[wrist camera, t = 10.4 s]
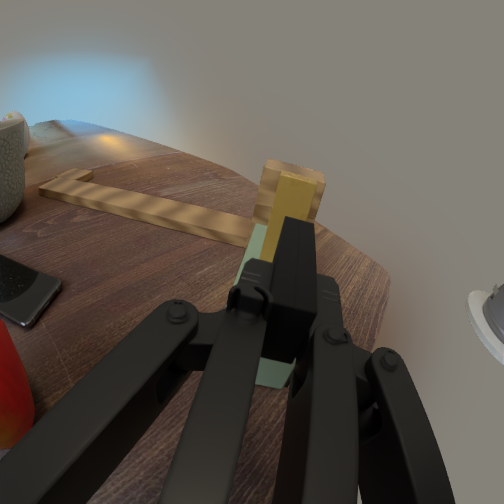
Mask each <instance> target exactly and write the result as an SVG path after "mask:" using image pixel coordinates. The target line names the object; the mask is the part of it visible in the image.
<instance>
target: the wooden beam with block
mask: <svg viewBox="0 0 504 504" xmlns="http://www.w3.org/2000/svg"><path fill="white" fill-rule="evenodd" d="M282 170H284V171H288V172H292V173H296V174H299V175H303V176H307V177H310V178H314V179H316V181H317V188H316V191H315V194H314V198H313V201H312V204H311V207H310V211H309V214H308V217H307V220H306V221H307V222H310V223H314V220H315V217H316V214H317V211H318V208H319V205H320V202H321V198H322V195H323V192H324V189H325V186H326V182H325V178H324V175H323V173H322V172H318V171H315V170H311V169H307V168H304V167H301V166H297V165H293V164H289V163H285V162H281V161H277V160H273V159H268V161H267V162H266V164H265V166H264V167H263V172H262V176H261V181H260V185H259V190H258V194H257V199H256V204H255V208H254V212H253V217H252V219H249V218H245V217H241V216H236V215H232V214H228V213H224V212H220V211H216V210H212V209H208V208H203V207H199V206H195V205H190V204H186V203H182V202H177V201H173V200H169V199H164V198H160V197H155V196H150V195H146V194H141V193H136V192H132V191H127V190H122V189H117V188H112V187H108V186H103V185H98V184H92V183H87V182H86V181H88V180H90V179H92V178H93V171H90V170H83V169H77V168H73V169H71V170H69V171H66V172H64V173H62V174H60V175H58V176H56V179H54V180H52V181H50V182H48V183H46V184H44V185H42V186H40V187H38V189H39V195H41V196H45V197H49V198H52V199H56V200H60V201H64V202H68V203H72V204H76V205H80V206H84V207H88V208H92V209H96V210H100V211H104V212H107V213H111V214H115V215H119V216H123V217H127V218H131V219H135V220H139V221H143V222H147V223H150V224H154V225H158V226H162V227H166V228H170V229H174V230H178V231H182V232H185V233H189V234H193V235H197V236H201V237H205V238H209V239H213V240H217V241H220V242H224V243H228V244H232V245H236V246H240V247H244V248H246V249H245V252H246V250H247V247H248V244H249V241H250V239H251V236H252V233H253V231H254V228H255V225H256V223H257V224H261V225H265V226H268V222H269V218H270V214H271V210H272V206H273V202H274V198H275V194H276V190H277V186H278V182H279V178H280V174H281V171H282ZM244 255H245V254H244Z"/></svg>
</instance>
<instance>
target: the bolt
mask: <svg viewBox="0 0 504 504" xmlns="http://www.w3.org/2000/svg"><path fill="white" fill-rule="evenodd" d="M316 188H317V181H316V179H314V178H310V177H307V176H303V175H299V174H296V173H292V172H288V171H284V170H282V171H281V174H280V178H279V182H278V186H277V190H276V194H275V198H274V202H273V206H272V210H271V214H270V218H269V222H268V226H267V230H266V234H265V238H264V242H263V246H262V250H261V254H260V258H259V259H260V260H264V261H267V262H271V263H272V261H273V258H274V254H275V251H276V247H277V243H278V240H279V236H280V233H281V229H282V225H283V222H284V218H285V216H288V217H292V218H295V219H299V220H303V221H306V220H307V217H308V214H309V211H310V207H311V204H312V201H313V198H314V194H315V191H316Z"/></svg>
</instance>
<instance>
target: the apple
mask: <svg viewBox="0 0 504 504" xmlns="http://www.w3.org/2000/svg"><path fill="white" fill-rule="evenodd" d="M34 415H35V407H34V401H33V395H32V392H31V389H30V385H29V382H28V378H27V374H26V370H25V368H24V366H23V364H22V361H21V359H20V357H19V354H18V352H17V350H16V348H15V346H14V344H13V342H12V339H11V337H10V335H9V332H8V330H7V328H6V325H5V323H4V322H3V321H2V320H1V319H0V449H10V448H12V447H13V446H14V445H15V444H16V443H17V442H18V441H19V440H20V439H21V438H22V437H23V436H24V435H25V434H26V433H27V432H28V431H29V430H30V429H31V428H32V426H33V420H34Z"/></svg>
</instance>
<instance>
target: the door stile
mask: <svg viewBox="0 0 504 504" xmlns="http://www.w3.org/2000/svg"><path fill="white" fill-rule="evenodd" d="M266 230H267V226H265V225H261V224H257V223H256V225H255V228H254V231H253V233H252V236H251V239H250V241H249V244H248V247H247V250H246V252H245V255H244V258H243V260H242V263H241V266H240V269H239V271H238V274H237V277H236V280H235V282H234V285H236V284H237V283H238V280H239V278H240V275H241V272H242V269H243V267H244V264H245V262H247V261H248V260H249V259H251V258H256V259H259V258H260V254H261V250H262V246H263V242H264V238H265V234H266ZM234 285H233V286H234ZM226 306H227V304H226ZM225 308H226V307H225ZM295 362H296V357H295V359H294V361H293V363H292V364H287V363H283V362H278V361H274V360H269V359H265V358H261V357H260V362H259V367H258V372H257V377H256V382H255V384H258V385H263V386H267V387H272V388H277V389H282V387H283V385H284V384H285V382H286V380H287V379H288V377H289V375H290V373H291V371H292V370H293V368H294V366H295Z"/></svg>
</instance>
